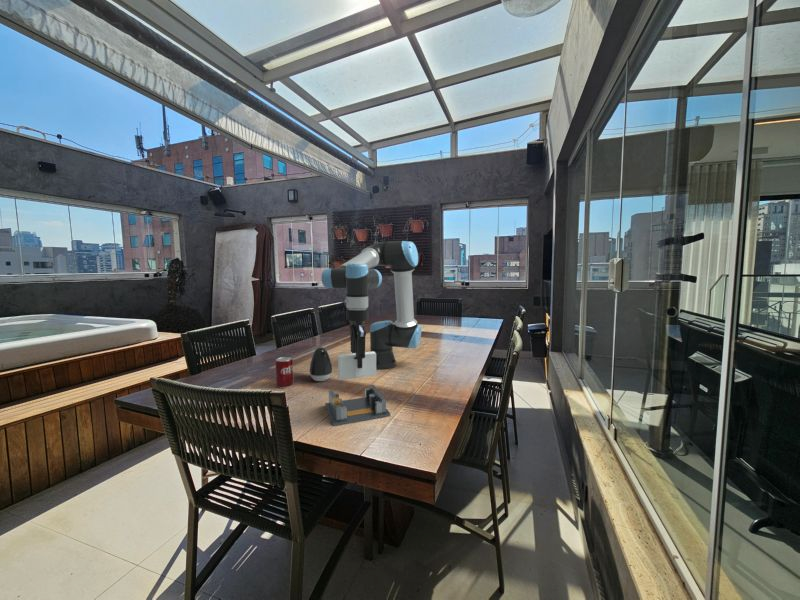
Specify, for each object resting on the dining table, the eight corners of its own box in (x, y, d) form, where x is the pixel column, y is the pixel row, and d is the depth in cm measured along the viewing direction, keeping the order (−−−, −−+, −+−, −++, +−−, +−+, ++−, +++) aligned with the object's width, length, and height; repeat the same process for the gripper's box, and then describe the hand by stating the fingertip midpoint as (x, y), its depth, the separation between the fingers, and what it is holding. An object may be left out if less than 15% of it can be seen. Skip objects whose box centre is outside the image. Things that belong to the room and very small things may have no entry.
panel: (373, 372, 122) (373, 351, 121) (376, 375, 119) (376, 353, 118) (337, 377, 117) (337, 354, 116) (339, 379, 114) (339, 356, 113)
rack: (375, 398, 134) (375, 381, 133) (390, 416, 118) (390, 397, 118) (325, 405, 127) (324, 387, 126) (333, 426, 111) (333, 405, 110)
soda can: (272, 386, 146) (271, 359, 145) (285, 381, 152) (284, 355, 151) (284, 389, 142) (283, 362, 141) (297, 384, 149) (296, 358, 148)
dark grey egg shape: (316, 385, 148) (315, 351, 146) (305, 379, 156) (305, 347, 154) (336, 380, 155) (336, 347, 153) (325, 374, 162) (324, 343, 161)
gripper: (341, 306, 121) (342, 369, 124) (351, 312, 106) (352, 383, 109) (361, 305, 124) (362, 367, 127) (374, 311, 109) (374, 381, 112)
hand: (357, 374), depth 118 cm, fingers closed on panel, 3 cm apart
